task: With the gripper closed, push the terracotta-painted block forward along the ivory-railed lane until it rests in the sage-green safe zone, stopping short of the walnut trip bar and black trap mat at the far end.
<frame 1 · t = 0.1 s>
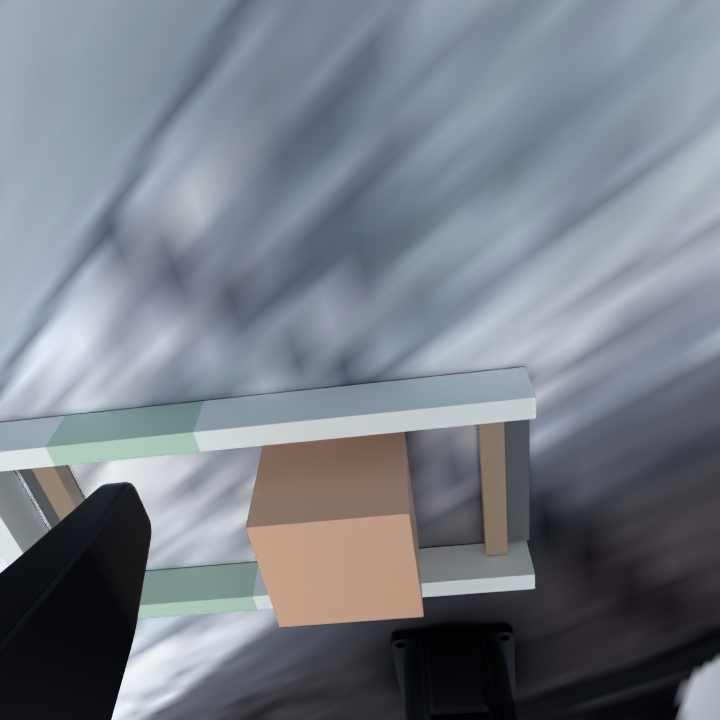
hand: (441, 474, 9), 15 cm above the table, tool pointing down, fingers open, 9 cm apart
trap lane: (279, 492, 30), on the table
block: (344, 483, 30), resting in trap lane
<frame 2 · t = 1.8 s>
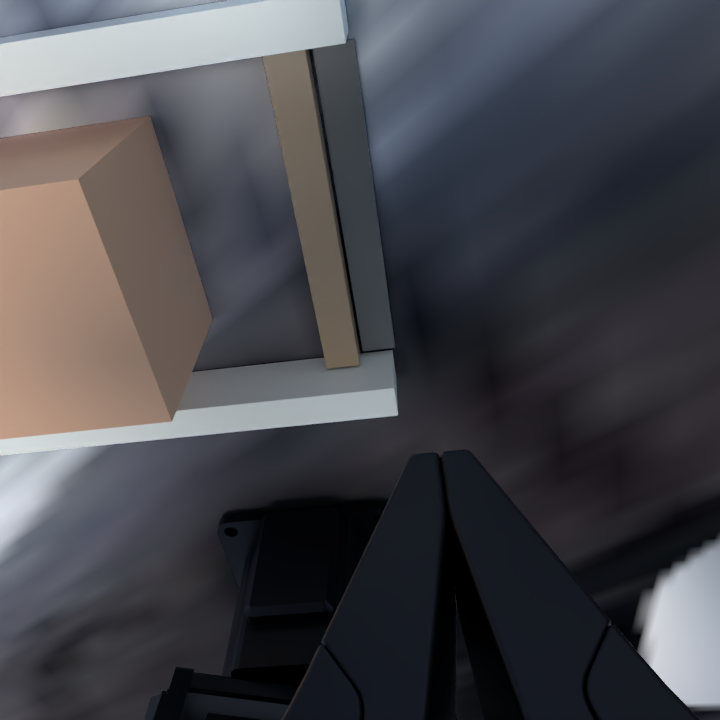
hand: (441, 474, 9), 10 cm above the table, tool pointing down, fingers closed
block: (83, 238, 19), resting in trap lane
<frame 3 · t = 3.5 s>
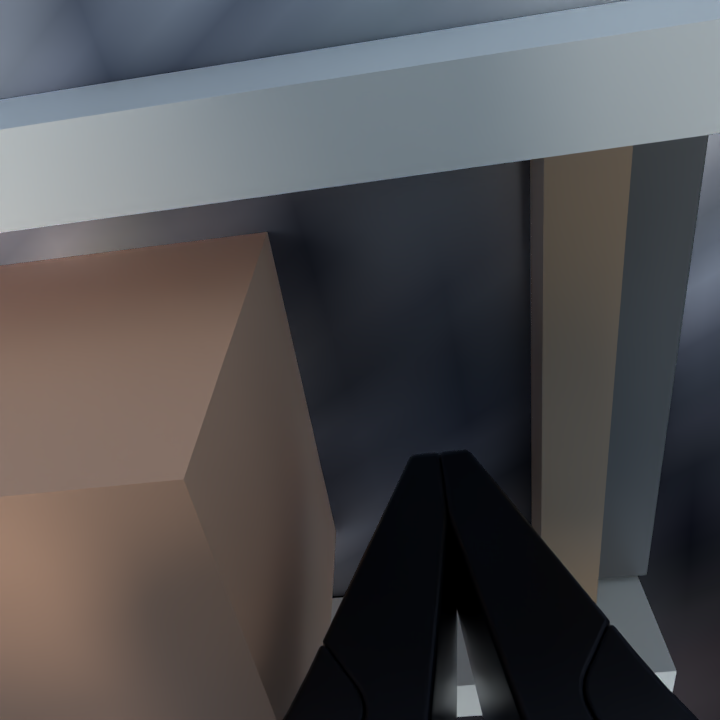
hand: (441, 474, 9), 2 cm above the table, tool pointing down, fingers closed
trap lane: (0, 455, 11), on the table
block: (131, 417, 11), resting in trap lane, touching gripper
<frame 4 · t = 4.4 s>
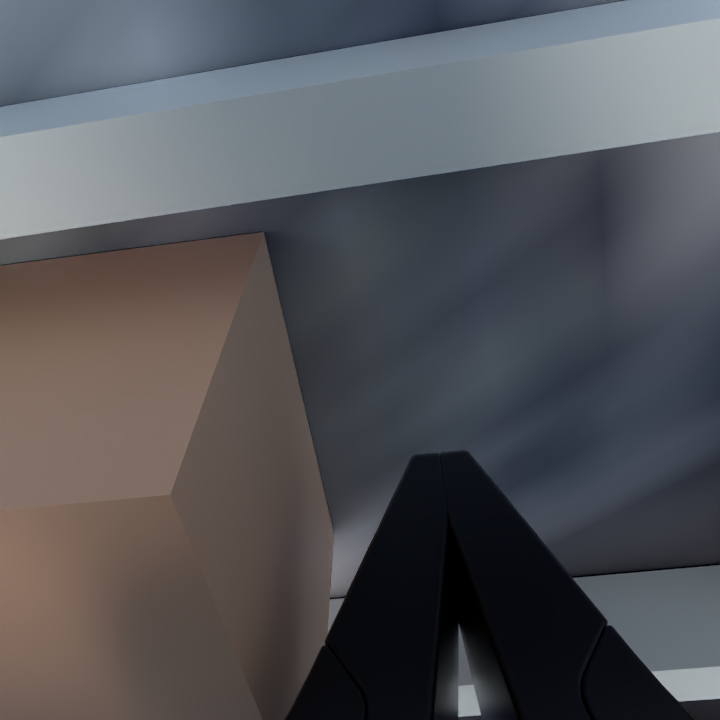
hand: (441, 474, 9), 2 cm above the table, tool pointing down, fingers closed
trap lane: (230, 433, 11), on the table
block: (126, 423, 11), resting in trap lane, touching gripper
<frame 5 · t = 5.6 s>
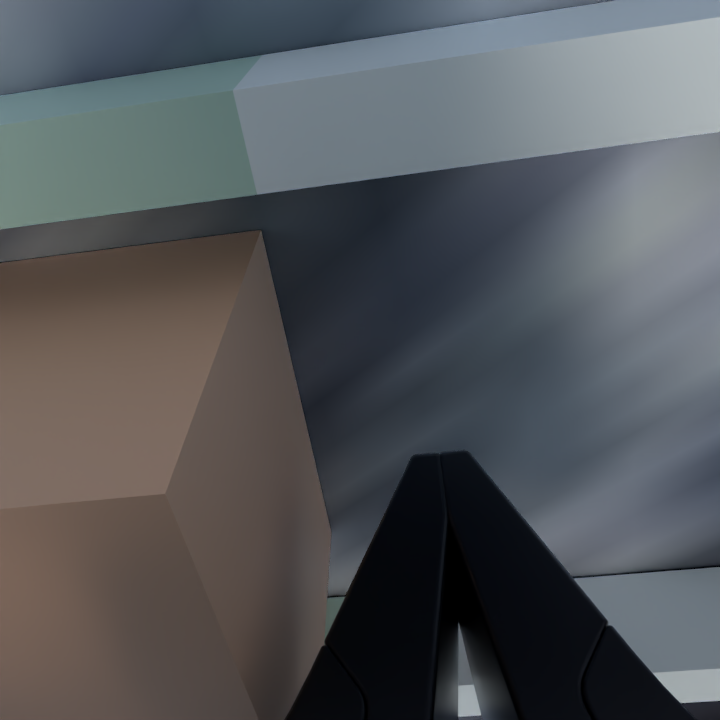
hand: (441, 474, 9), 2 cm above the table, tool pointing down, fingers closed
trap lane: (460, 406, 11), on the table
block: (122, 422, 11), resting in trap lane, touching gripper
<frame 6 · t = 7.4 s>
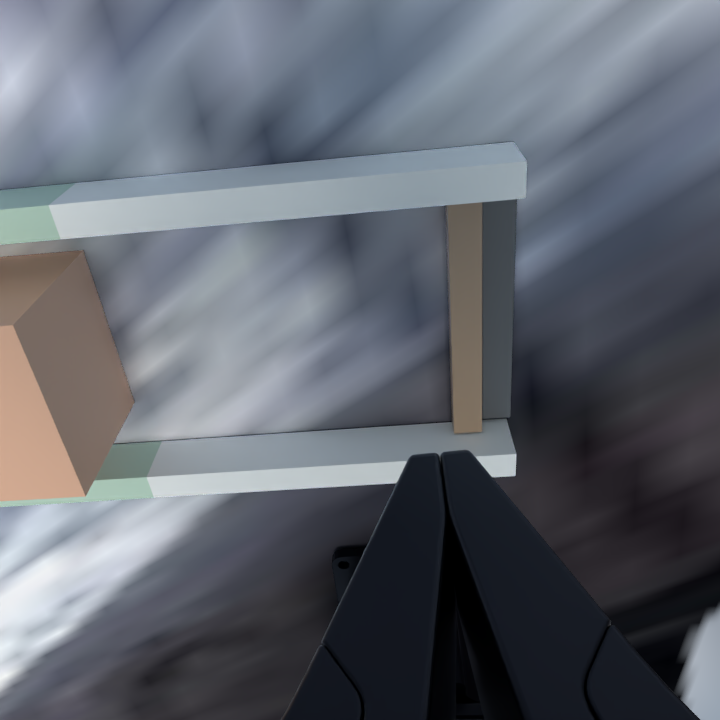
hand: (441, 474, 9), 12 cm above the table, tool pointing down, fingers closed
trap lane: (184, 335, 23), on the table
block: (28, 336, 23), resting in trap lane
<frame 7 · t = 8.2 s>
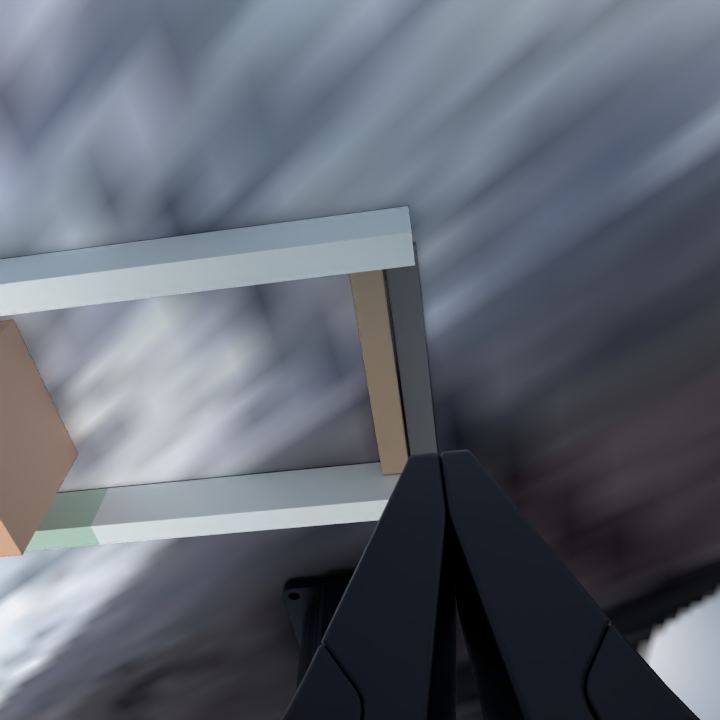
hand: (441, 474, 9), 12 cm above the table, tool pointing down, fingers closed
trap lane: (118, 392, 24), on the table
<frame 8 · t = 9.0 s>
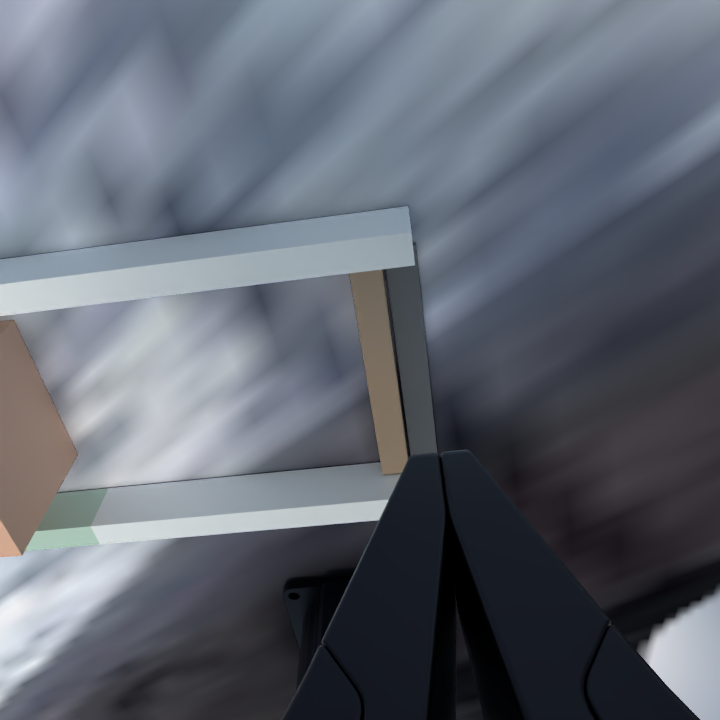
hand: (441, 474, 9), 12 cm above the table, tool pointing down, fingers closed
trap lane: (118, 392, 24), on the table
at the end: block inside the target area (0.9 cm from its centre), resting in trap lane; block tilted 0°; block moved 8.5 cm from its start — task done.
